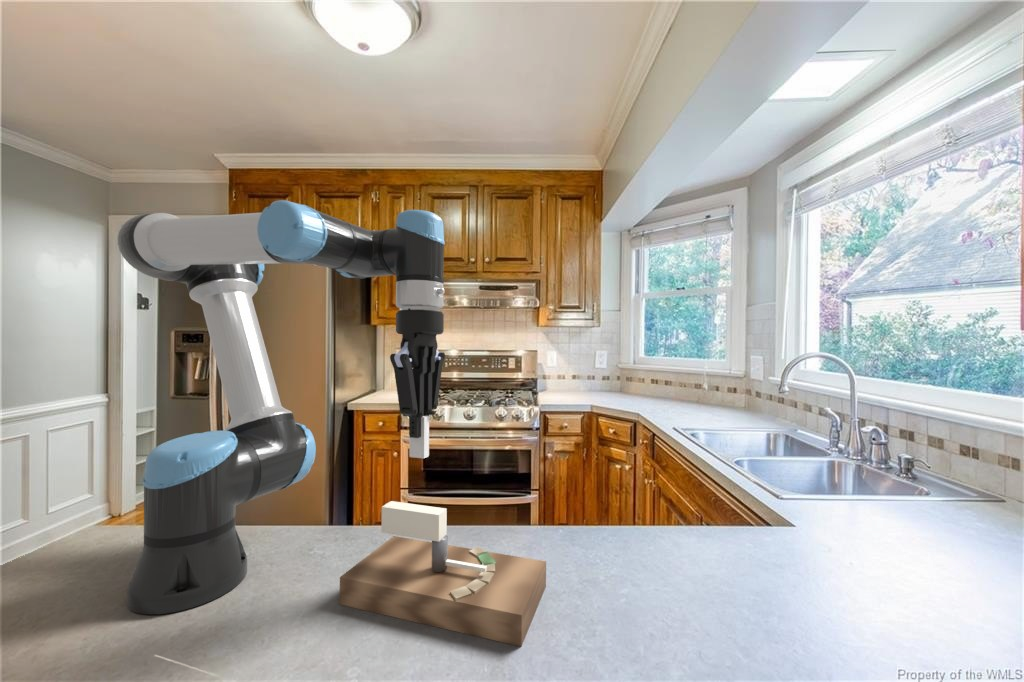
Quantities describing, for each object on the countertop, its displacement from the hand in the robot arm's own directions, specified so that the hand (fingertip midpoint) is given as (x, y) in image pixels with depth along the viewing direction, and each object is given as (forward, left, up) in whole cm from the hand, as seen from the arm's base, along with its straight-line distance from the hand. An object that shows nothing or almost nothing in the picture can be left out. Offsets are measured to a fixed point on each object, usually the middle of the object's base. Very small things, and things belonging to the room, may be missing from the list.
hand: (419, 456), depth 68 cm
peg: (+5, -2, -17) cm, 17 cm away
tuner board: (+6, -1, -21) cm, 21 cm away
